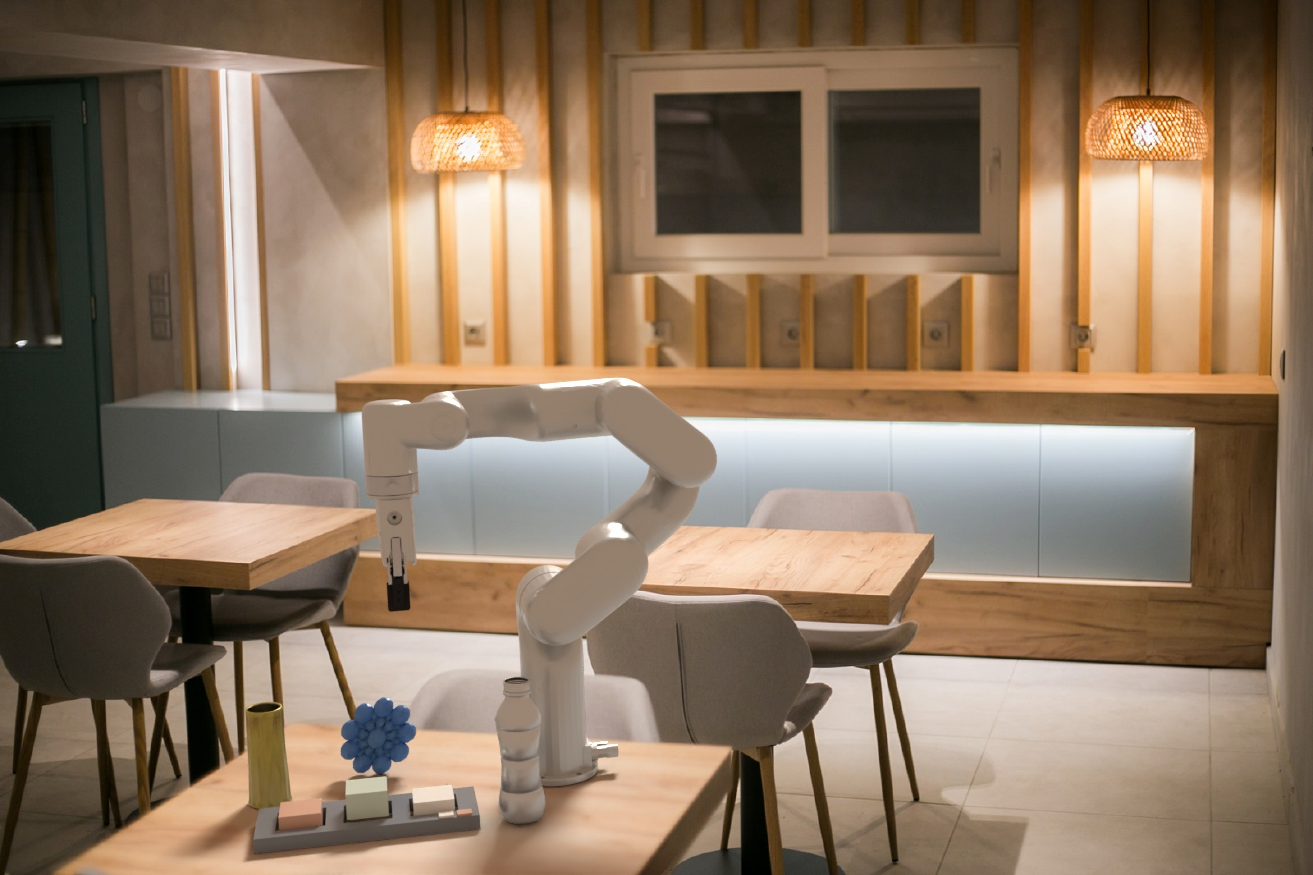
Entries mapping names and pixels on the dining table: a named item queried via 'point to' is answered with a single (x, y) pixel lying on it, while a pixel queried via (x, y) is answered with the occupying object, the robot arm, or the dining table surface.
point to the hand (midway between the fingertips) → (399, 609)
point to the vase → (267, 756)
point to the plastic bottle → (519, 754)
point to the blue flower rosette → (377, 736)
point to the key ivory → (433, 800)
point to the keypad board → (366, 824)
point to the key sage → (366, 798)
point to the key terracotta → (300, 814)
